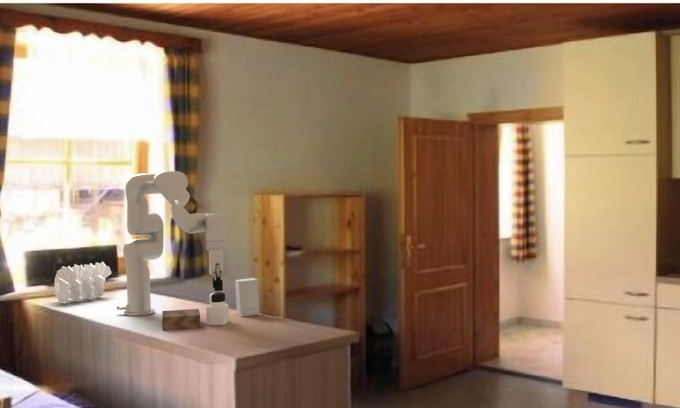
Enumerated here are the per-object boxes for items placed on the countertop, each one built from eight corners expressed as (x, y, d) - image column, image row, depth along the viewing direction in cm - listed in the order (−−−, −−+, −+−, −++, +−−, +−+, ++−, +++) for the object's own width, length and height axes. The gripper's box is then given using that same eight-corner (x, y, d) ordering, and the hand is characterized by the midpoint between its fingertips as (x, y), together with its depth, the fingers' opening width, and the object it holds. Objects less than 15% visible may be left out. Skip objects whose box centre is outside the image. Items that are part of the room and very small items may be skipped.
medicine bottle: (229, 321, 288) (228, 291, 288) (224, 325, 281) (223, 294, 281) (211, 321, 289) (210, 291, 288) (206, 325, 282) (205, 294, 281)
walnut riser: (162, 330, 273) (162, 317, 273) (162, 323, 287) (162, 311, 287) (200, 328, 277) (200, 314, 276) (199, 321, 290) (198, 308, 290)
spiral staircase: (53, 311, 344) (99, 301, 363) (71, 298, 333) (118, 288, 353) (41, 276, 347) (87, 267, 367) (59, 262, 337) (105, 254, 357)
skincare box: (255, 312, 306) (254, 277, 306) (259, 315, 301) (258, 279, 300) (235, 314, 302) (234, 279, 302) (240, 317, 297) (239, 280, 296)
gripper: (205, 244, 291) (206, 287, 292) (207, 247, 275) (209, 292, 275) (224, 243, 293) (225, 285, 294) (227, 246, 276) (229, 291, 277)
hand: (217, 289), depth 284 cm, fingers open, 9 cm apart
